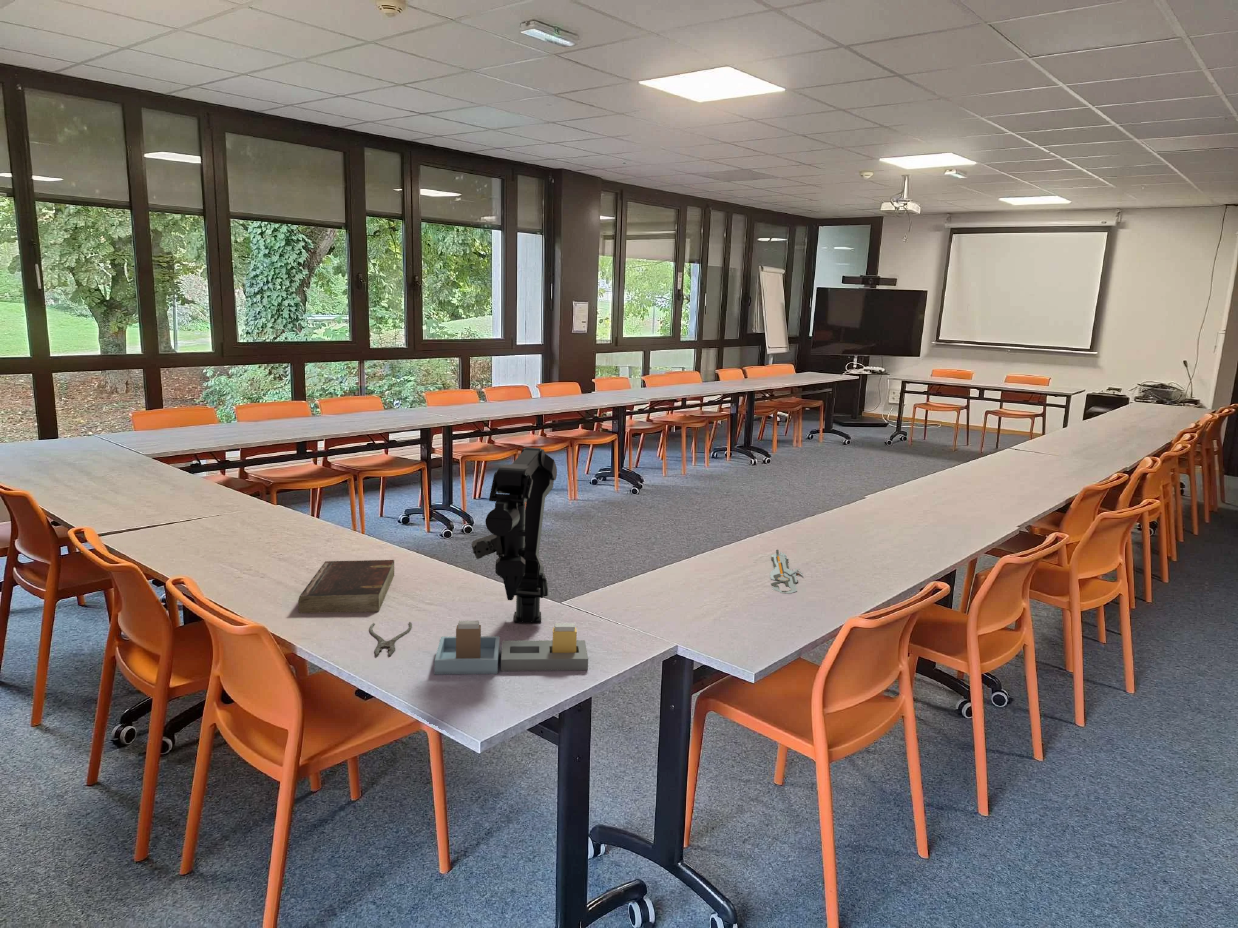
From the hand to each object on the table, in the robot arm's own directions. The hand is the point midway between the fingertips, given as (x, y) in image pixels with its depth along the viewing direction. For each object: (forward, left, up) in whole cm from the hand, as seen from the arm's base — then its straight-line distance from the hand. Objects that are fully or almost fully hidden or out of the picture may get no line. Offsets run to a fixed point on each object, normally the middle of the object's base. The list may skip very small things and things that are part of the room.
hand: (510, 592), depth 178 cm
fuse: (+9, +12, -12) cm, 19 cm away
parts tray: (+9, -8, -12) cm, 17 cm away
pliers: (-4, -26, -13) cm, 29 cm away
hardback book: (-35, -42, -13) cm, 56 cm away
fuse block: (+9, +8, -12) cm, 17 cm away
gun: (-53, +81, -13) cm, 98 cm away
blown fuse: (+9, -8, -11) cm, 17 cm away
